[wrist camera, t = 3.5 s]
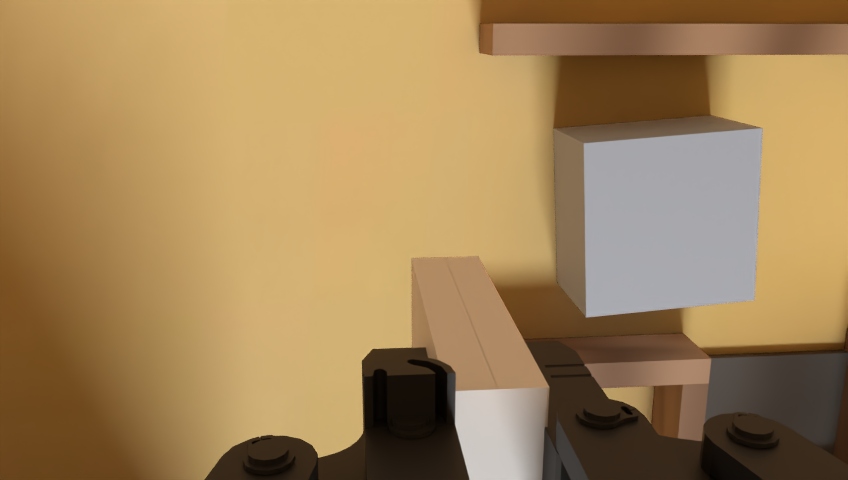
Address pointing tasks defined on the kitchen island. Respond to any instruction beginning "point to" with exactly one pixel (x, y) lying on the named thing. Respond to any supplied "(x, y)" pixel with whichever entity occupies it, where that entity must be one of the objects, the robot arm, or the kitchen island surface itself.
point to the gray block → (657, 213)
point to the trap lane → (675, 353)
